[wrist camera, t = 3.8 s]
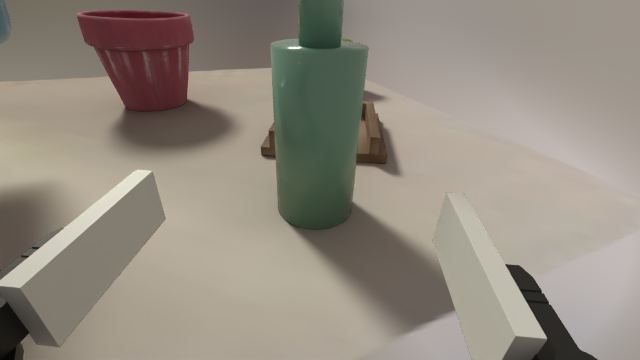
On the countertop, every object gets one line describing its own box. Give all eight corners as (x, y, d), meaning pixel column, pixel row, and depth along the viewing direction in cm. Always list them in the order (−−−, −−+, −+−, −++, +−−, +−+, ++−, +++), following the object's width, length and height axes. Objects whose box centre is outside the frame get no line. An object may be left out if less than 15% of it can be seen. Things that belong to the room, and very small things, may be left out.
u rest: (261, 154, 35) (259, 130, 34) (284, 114, 47) (283, 94, 46) (385, 163, 35) (389, 138, 33) (376, 120, 47) (379, 100, 45)
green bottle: (270, 226, 25) (252, -68, 15) (285, 183, 30) (278, -53, 21) (351, 232, 24) (384, -64, 15) (351, 188, 30) (375, -50, 20)
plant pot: (203, 113, 47) (188, 17, 40) (94, 121, 43) (57, 15, 36) (203, 89, 58) (191, 10, 52) (117, 92, 54) (92, 8, 48)
